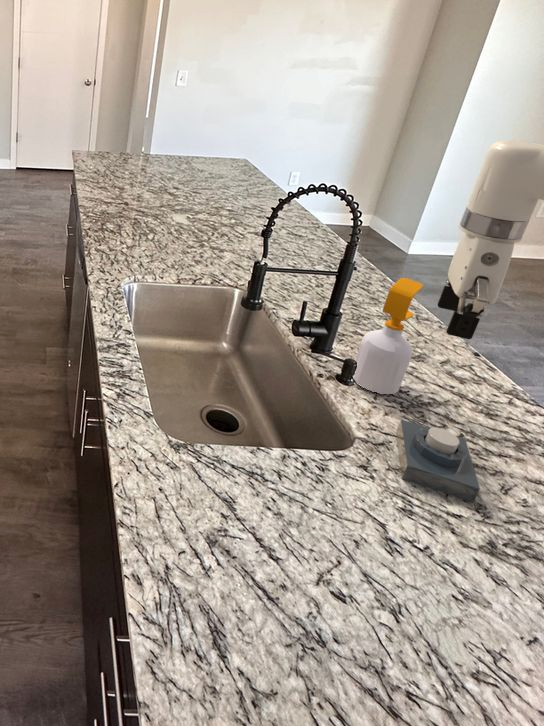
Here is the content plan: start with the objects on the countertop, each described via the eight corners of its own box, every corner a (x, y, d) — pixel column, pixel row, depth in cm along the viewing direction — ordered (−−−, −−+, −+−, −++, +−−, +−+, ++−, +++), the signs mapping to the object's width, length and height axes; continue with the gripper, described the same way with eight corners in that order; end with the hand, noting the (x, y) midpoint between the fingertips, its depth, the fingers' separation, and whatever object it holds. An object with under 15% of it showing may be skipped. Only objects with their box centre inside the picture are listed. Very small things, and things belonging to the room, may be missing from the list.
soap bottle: (405, 386, 116) (445, 286, 106) (385, 401, 111) (424, 297, 101) (363, 365, 122) (396, 268, 112) (342, 378, 117) (375, 279, 107)
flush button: (453, 441, 94) (457, 432, 93) (457, 458, 91) (461, 449, 90) (423, 432, 96) (427, 424, 95) (426, 448, 93) (430, 439, 92)
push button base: (459, 451, 98) (468, 430, 96) (472, 503, 88) (484, 480, 86) (395, 432, 103) (403, 411, 101) (401, 479, 92) (410, 457, 90)
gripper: (541, 249, 72) (493, 355, 79) (509, 212, 86) (470, 305, 93) (473, 238, 75) (432, 341, 82) (452, 204, 89) (419, 294, 96)
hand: (453, 321), depth 88 cm, fingers open, 9 cm apart
